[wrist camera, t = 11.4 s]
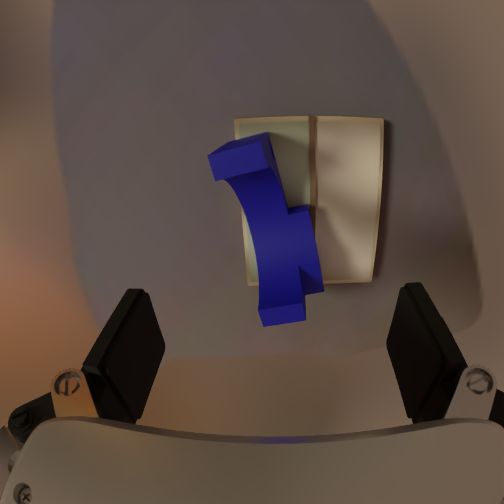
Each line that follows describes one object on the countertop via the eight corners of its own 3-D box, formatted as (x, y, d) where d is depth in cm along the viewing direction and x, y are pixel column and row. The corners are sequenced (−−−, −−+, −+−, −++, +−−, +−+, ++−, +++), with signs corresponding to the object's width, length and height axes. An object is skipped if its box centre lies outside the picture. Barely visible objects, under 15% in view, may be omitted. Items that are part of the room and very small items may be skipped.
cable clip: (321, 271, 26) (327, 316, 20) (269, 280, 27) (263, 326, 21) (288, 126, 21) (288, 134, 15) (228, 141, 22) (207, 156, 16)
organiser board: (236, 118, 22) (233, 119, 20) (378, 117, 21) (384, 118, 19) (249, 278, 28) (247, 287, 27) (368, 274, 27) (372, 283, 26)
